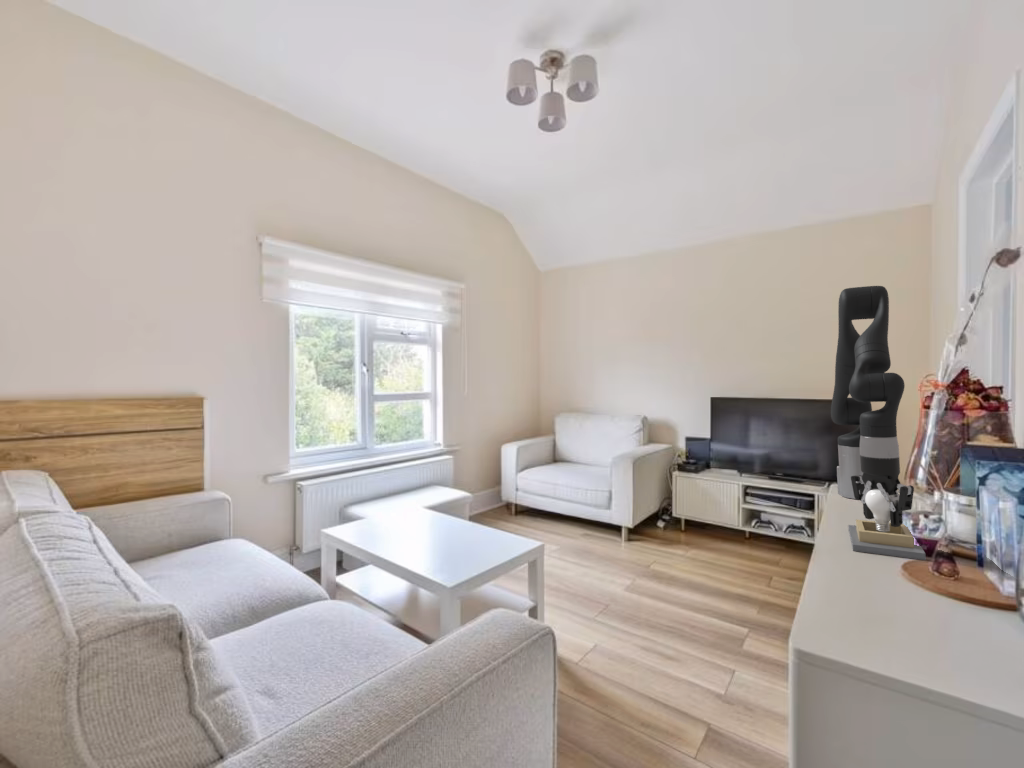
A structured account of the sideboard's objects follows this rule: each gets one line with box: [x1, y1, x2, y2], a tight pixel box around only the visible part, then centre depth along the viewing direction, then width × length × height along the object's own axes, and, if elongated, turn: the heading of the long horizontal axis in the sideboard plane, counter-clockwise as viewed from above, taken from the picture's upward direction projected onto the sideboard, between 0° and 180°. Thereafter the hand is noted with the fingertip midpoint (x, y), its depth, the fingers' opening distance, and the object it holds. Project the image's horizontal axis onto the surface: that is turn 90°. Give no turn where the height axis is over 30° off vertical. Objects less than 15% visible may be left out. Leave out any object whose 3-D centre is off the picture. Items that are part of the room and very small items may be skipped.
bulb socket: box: [847, 519, 927, 561], centre depth 111 cm, size 16×13×4 cm
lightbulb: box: [865, 489, 897, 533], centre depth 112 cm, size 6×6×11 cm
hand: (882, 522), depth 112 cm, fingers closed on lightbulb, 5 cm apart
